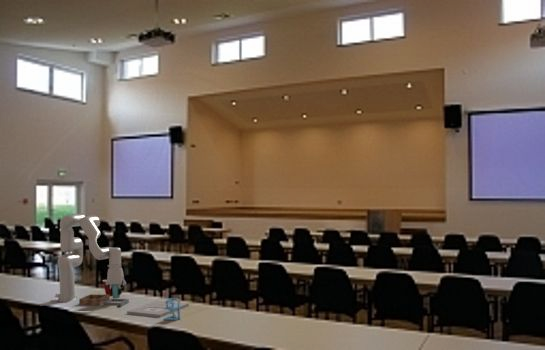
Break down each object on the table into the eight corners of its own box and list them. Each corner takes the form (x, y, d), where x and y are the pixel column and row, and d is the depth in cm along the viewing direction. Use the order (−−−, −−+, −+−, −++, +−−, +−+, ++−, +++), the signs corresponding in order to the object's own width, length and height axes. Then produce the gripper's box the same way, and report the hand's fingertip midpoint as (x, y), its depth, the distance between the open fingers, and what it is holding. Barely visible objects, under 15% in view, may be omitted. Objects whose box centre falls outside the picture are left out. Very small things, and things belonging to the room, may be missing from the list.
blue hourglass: (174, 321, 299) (173, 300, 299) (163, 319, 303) (162, 299, 303) (183, 318, 305) (182, 297, 305) (172, 316, 310) (172, 296, 310)
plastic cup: (121, 294, 375) (120, 278, 375) (115, 298, 364) (114, 281, 364) (106, 295, 376) (106, 278, 376) (100, 298, 365) (99, 281, 365)
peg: (111, 298, 343) (111, 284, 343) (114, 296, 347) (114, 283, 347) (117, 298, 342) (117, 284, 342) (121, 296, 347) (120, 283, 347)
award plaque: (188, 306, 336) (188, 303, 336) (160, 318, 309) (160, 314, 309) (157, 303, 346) (157, 300, 346) (127, 314, 319) (127, 311, 319)
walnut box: (79, 306, 341) (79, 299, 341) (90, 301, 355) (90, 294, 355) (99, 307, 339) (99, 299, 339) (109, 302, 353) (109, 294, 353)
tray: (103, 306, 340) (103, 302, 340) (111, 302, 352) (111, 298, 352) (120, 306, 338) (120, 303, 338) (128, 302, 350) (128, 298, 350)
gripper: (100, 267, 343) (101, 295, 342) (125, 267, 340) (125, 295, 340) (106, 265, 350) (106, 293, 350) (129, 265, 347) (130, 293, 347)
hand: (116, 294), depth 345 cm, fingers closed on peg, 4 cm apart
